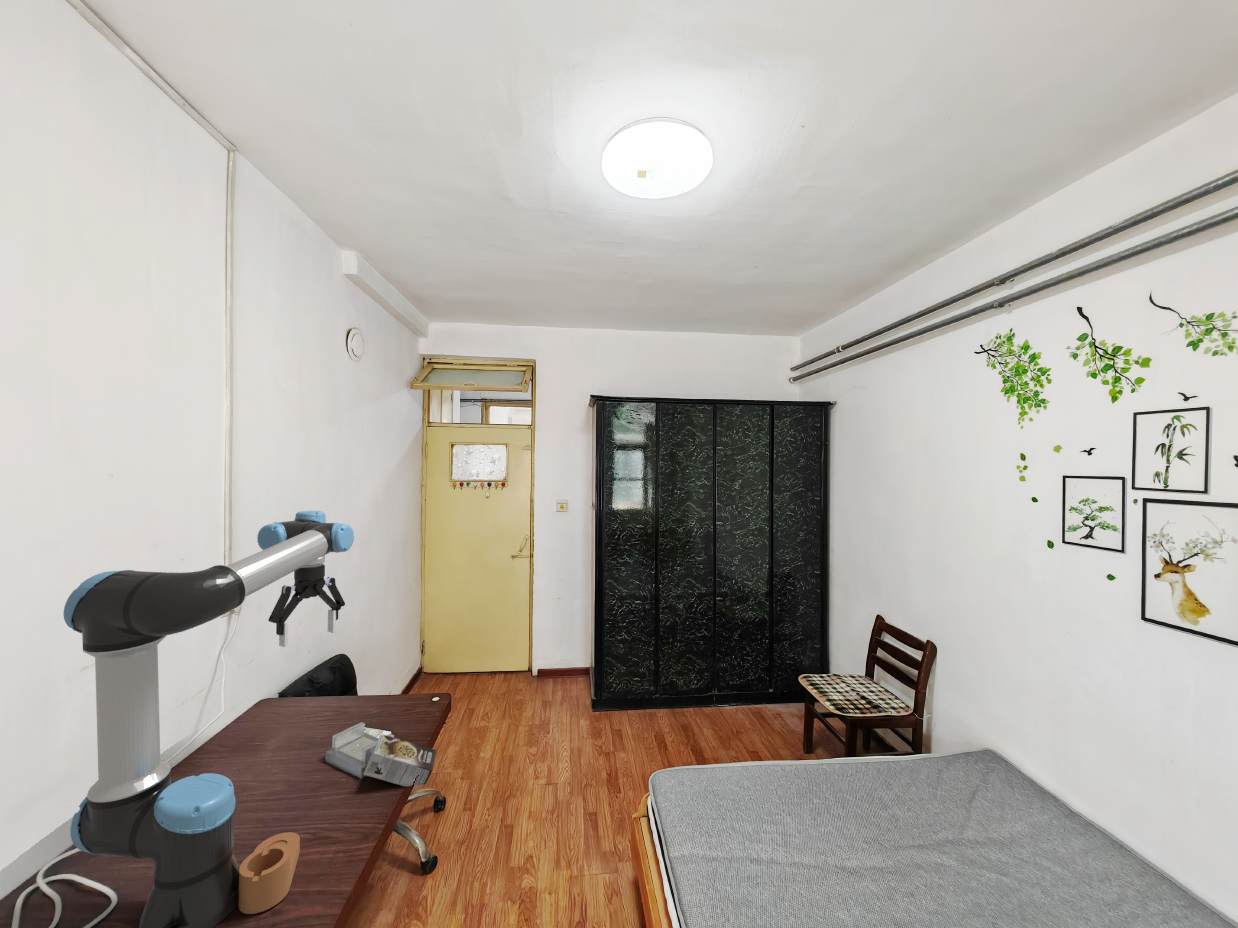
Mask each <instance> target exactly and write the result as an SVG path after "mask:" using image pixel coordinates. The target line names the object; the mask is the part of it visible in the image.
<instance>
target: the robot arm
mask: <svg viewBox="0 0 1238 928" xmlns="http://www.w3.org/2000/svg"><path fill="white" fill-rule="evenodd" d="M326 517H327V516H326V513H325V512H324V511H321V510H304V511H302V510H301V511H298V512H296V513H295V517H294V520H290V521H289V520H288V521H281V522H273V523H268V524H267V525H263V526H262V527H261V528H260V529H259V531H258V533H257V537H256V538H257V544H258V546H259V548H260V549H261V550H260V551H257V552H256V553H254V554H251V555H249V556H246V557H244V558H242V559H240V560H238V561H235V562H232V563H230V564H228V565H224V564H217V565H214V566H211V567H208V568H206V569H203V570H197V571H191V572H190V571H187V572H185V571H184V572H165V571H163V572H162V571H139V570H134V569H124V570H110V571H104V572H100V573H97V574H95V575H92V576H90V577H88V578H87V579H86V580H83V581H82V582H81V583H80V585H79V586H77V588H75V589H73V591H72V592H71V594H70V595H68V597H67V599H66V601H65V605H64V607H63V619H64V620H63V621H64V622H65V624H66V626H67V627H68V628H69V629H72V630H73V631H74V632H77V633H79V634H81V637H82V652H84V653H85V654H87V655H90V656H92V657H93V658H94V661H95V662H94V665H95V666H94V667H95V668H94V669H95V702H96V733H97V735H96V737H97V739H96V741H97V769H98V770H97V773H98V780H96V782H94V784H93V785H92V786H90V788H89V789H88V791H87V794H86V797H85V798H84V799H83V800H82V801H81V803H80V804H79V805H78V807H79V810H78V811H77V812H75V813H74V814H73V816H72V820H71V823H70V831H69V832H70V839H71V841H72V843H73V845H74V846H75V848H77V849H78V850H79V851H81V852H85V853H89V854H91V855H93V856H101V857H118V858H119V857H122V858H130V859H138V860H148V861H152V862H153V885H152V888H151V890H150V892H149V895H148V897H147V901H146V903H145V906H144V909H143V911H142V913H141V915H140V916H141V917H140V919H139V928H214V927H215V926H217V925H218V924H219V923H221V922H222V921H223V920H225V919H226V918H227V917H229V915H230V914H231V913H232V912H233V911H234V910H235V908H236V907H237V906H239V868H240V865H239V864H238V862H237V860H236V857H235V854H234V838H235V837H234V836H235V815H236V814H235V813H236V812H235V811H236V796H235V789H234V788H235V787H234V784H233V782H232V781H231V779H230V778H228V777H227V776H225V775H223V774H220V773H219V774H218V773H213V772H212V773H211V772H207V773H200V774H199V775H197V776H196V775H190V776H186V777H183V778H181V779H178V780H176V781H174V782H173V783H172V774H171V773H172V767H171V764H170V763H169V762H167V761H164V760H162V759H161V735H160V734H161V733H160V731H161V730H160V729H161V728H160V698H159V697H160V695H159V694H160V691H159V690H160V689H159V688H160V687H159V653H158V652H159V651H158V649H159V648H158V646H159V644H160V643H161V642H163V640H164V639H165V638H167V637H168V636H171V635H175V634H178V633H182V632H185V631H188V630H191V629H194V628H195V627H196V628H197V627H198V626H201V625H204V624H206V623H209V622H211V621H213V620H216V618H219V617H222V616H224V615H226V614H227V613H229V612H231V611H233V610H235V609H236V608H238V607H240V606H241V605H242V604H243V603H244V602H245V600H246V598H247V597H249V596H250V595H252V594H254V593H257V592H259V590H261V589H264V588H265V587H267V586H270V585H271V584H272V583H274V582H277V581H278V580H280V579H282V578H285V577H286V576H288V575H289V574H291V573H293V572H294V575H293V576H294V577H293V579H294V584H293V585H282V587H281V591H280V596H278V597H279V598H278V599H277V601H276V603H275V604H274V607H273V610H272V611H271V613H270V615H269V617H268V622H269V623H273V624H276V625H275V626H276V627H275V628H276V631H275V634H276V636H278V646H279V647H282V648H287V647H288V639H289V638H288V637H289V636H288V634H289V633H288V632H289V622H287V620H288V618H289V617H290V616H291V615H292V613H293V611H294V610H295V609H296V608H297V607H298V605H299V604H300V603H301V602H302V601H303V600H304V599H310V598H317V596H318V597H319V598H320V599H321V600H322V601H323V602H324V603H325V604H326V605H327V606H328V607H329V608H330V609H328V610H327V632H328V633H332V634H335V633H336V632H337V631H336V628H337V621H338V619H339V611H341V610H342V607H344V606H345V605H346V602H345V599H344V598H343V596H342V595H341V593H340V591H339V588H338V587H337V585H336V584H337V583H336V579H335V577H330V576H327V577H326V578H325V576H326V574H325V573H326V565H325V564H324V563H325V562H326V556H327V554H330V553H335V554H336V553H344V552H347V551H348V550H350V549H351V547H352V546H353V544H354V540H355V535H354V529H353V528H352V526H351V525H349V524H347V523H339V522H327V519H326ZM325 586H326V587H327V588H328V590H329V592H330V594H331V596H330V595H329V594H328V593H327V592H326V591H325V590H324V587H325ZM292 593H294V594H293V595H292V597H291V594H292ZM290 597H291V599H290ZM332 598H333V599H332ZM288 601H289V602H288Z"/></svg>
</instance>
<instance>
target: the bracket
mask: <svg viewBox="0 0 1238 928" xmlns="http://www.w3.org/2000/svg"><path fill="white" fill-rule="evenodd" d="M300 847H301V838H300V835H299V834H298V833H295V832H291V831H289V832H281V833H277V834H275V835H273V836H270V837H268V838H266V839H265V840H263V841H262V842H260V843H259V844H258V845H257V846H256V848H255V849H254V851H253V852H252V853H250V854H249V855H248V856H247V857H246V858H245V859H244V860H243V861H242V862H241V863H240V865H239V903H238V909H239V911H240V913H243V914H246V915H254V914H255V915H256V914H258V913H262V912H265V911H268V910H269V909H271V908H273V907H274V906H276V905H278V904H279V903H280V902H281V901H283V899H285V897H286V896H287V895H288V893H289V891H290V888H291V885H292V882H293V878H294V875H295V871H296V867H297V863H298V861H299V857H300V849H301V848H300Z"/></svg>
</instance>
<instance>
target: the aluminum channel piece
mask: <svg viewBox="0 0 1238 928" xmlns="http://www.w3.org/2000/svg"><path fill="white" fill-rule="evenodd" d="M365 726H366V723H365V722H362V721H361V722H359V723H357V724H354V725H352V726H350V727H348V728H346V729H344V730H342V731H340V732H338V733H336V734H334V735H332V736H331V738H332V740H331V749H329V750H327V751H325V763H327V764H328V765H331V766H333V767H335V768H337V769H340V770H341V771H343V772H346V773H347V772H348V773H347V774H349V773H350V774H349V775H351V774H352V775H351V776H353V775H354V776H353V777H355V776H357V777H359V778H363V777H365V776H366V775H363V774H364V771H365V769H366V766H367V764H368V761H369V759H370V756H371V754H372V751H373V749H374V747H375V745H376V743H377V741H378V739H379V737H376V736H374V735H371V734H369V733H366V732H365ZM386 736H390V737H393V738H395V735H394V734H392V733H388V734H387V735H386ZM357 777H356V778H357ZM366 777H367V776H366ZM366 777H365V778H366ZM359 778H358V779H359ZM363 779H364V778H363Z"/></svg>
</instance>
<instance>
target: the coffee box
mask: <svg viewBox="0 0 1238 928" xmlns="http://www.w3.org/2000/svg"><path fill="white" fill-rule="evenodd" d="M378 738H379V739H378V741H377V743H376V745H375V747H374V749H373V751H372V754H371V756H370V759H369V761H368V764H367V766H366V769H365V771H364V774H363V775H367V776H366V777H371V778H374V779H378V780H380V781H381V780H382V781H385V782H389V783H392V784H395V785H399V786H402V787H414V786H415V787H416V786H423V785H426V784H427V782H428V781H429V779H430V777H431V774H432V773H433V769H434V763H435V760H436V755H437V749H434V748H430V747H426V746H423V745H420V744H416V743H413V742H410V741H406V740H403V739H400V738H397V737H394V738H393V737H390V736H387V735H385V734H384V733H380V735H379V737H378ZM418 775H419V776H418ZM417 776H418V777H417ZM416 777H417V778H416ZM415 778H416V781H415ZM414 781H415V783H414V786H412V785H413V782H414Z"/></svg>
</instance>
